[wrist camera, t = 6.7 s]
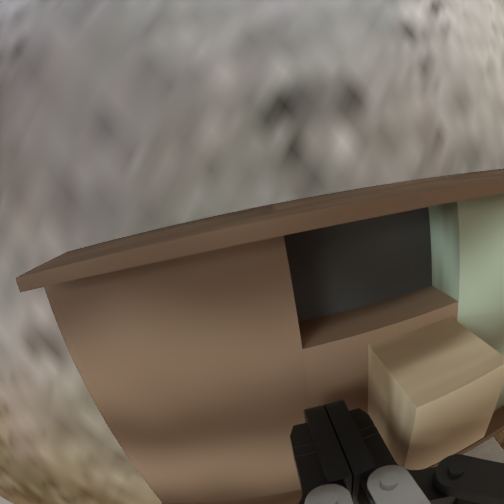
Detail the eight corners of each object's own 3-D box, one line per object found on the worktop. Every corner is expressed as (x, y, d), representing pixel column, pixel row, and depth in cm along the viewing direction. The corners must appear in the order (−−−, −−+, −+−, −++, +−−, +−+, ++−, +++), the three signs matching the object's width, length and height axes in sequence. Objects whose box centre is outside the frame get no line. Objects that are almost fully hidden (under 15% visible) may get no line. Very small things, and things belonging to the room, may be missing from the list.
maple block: (368, 344, 11) (416, 407, 7) (450, 316, 11) (509, 360, 7) (367, 416, 12) (400, 478, 8) (440, 387, 12) (483, 436, 8)
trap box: (67, 252, 12) (15, 278, 8) (527, 166, 12) (575, 169, 8) (170, 477, 15) (162, 525, 12) (509, 375, 16) (540, 401, 12)
